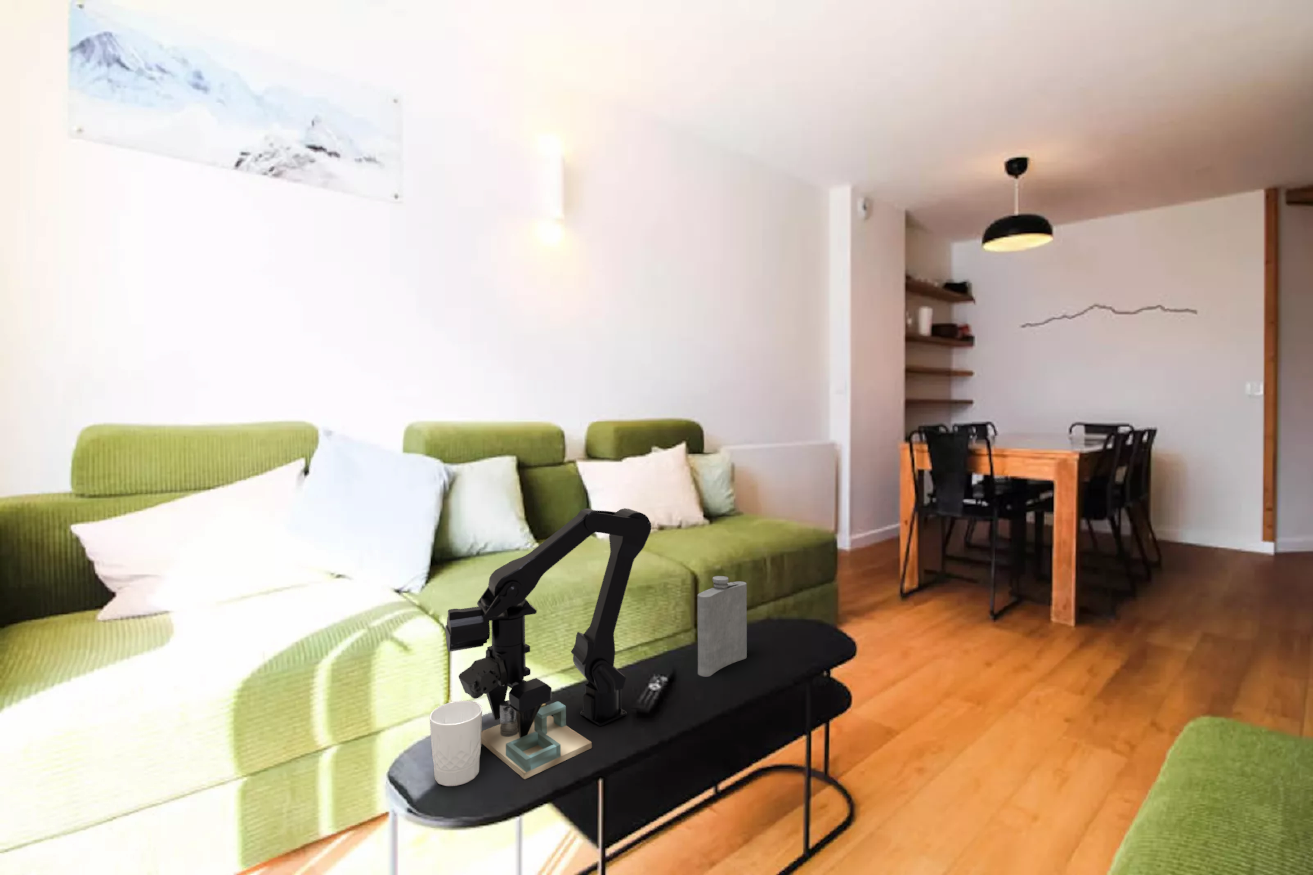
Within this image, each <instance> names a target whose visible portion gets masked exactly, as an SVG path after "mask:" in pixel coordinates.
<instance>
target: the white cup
mask: <svg viewBox="0 0 1313 875" xmlns="http://www.w3.org/2000/svg"><path fill="white" fill-rule="evenodd" d="M482 718H483V707H482V705H481V704H480V703H478V702H476V701H472V700H456V701H451V702H446V703H444V704H442V705H439V706H437V707H436V708H434V709H433V710H432V711H431V713H430V714H429V726H430V727H429V728H430V729H429V730H430V741H431V742H430V744H431V751H432V752H431V754H432V760H433V762H432V763H433V771H434V772H433V773H434V779H435V782H436V783H437V784H439V785H442V786H444V787H457V786H460V785H464V784H467V783H469V782H471V781H472V780H474V779H475V778H476V777H477V776H478V774H479V773H480V757H481V753H482V752H481V747H482V743H481V731H482V725H483V724H482V723H483V719H482Z"/></svg>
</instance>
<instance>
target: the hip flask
mask: <svg viewBox="0 0 1313 875" xmlns="http://www.w3.org/2000/svg"><path fill="white" fill-rule="evenodd" d="M712 582H713V587H711V588H709V589H706V590H703V591H702V592H699V593H698V594H697V675H698V676H700V677H704V678H705V677H706V678H707V677H711V676H712V675H714V674H715V673H716V672H718V671H719V670H720V671H721V669H723V668H725V667H727V666H729V665H732V664H734V663H736V662H739V661H742V660H745V659H747V656H748V655H747V653H748V652H747V650H748V649H747V647H748V646H747V642H748V640H747V636H748V633H747V632H748V631H747V630H748V627H747V622H748V621H747V620H748V619H747V618H748V617H747V616H748V615H747V610H748V609H747V606H748V605H747V601H748V600H747V599H748V598H747V594H748V593H747V592H748V591H747V589H748V588H747V582H745V581H739V580H738V581H730V582H729V577H728V576H726V575H725V576H724V575H715V576H713V577H712Z"/></svg>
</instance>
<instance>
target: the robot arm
mask: <svg viewBox="0 0 1313 875" xmlns="http://www.w3.org/2000/svg"><path fill="white" fill-rule="evenodd" d="M651 531H652V522H651V521H650V518H649V517H648V516H647V515H646V514H645V513H642V512H640V511H636V510H633V509H630V508H624V507H623V508H621V509H619V510H617V511H610V510H597V509H596V510H595V509H591V508H583V509H581V510H580V511H579V512H578V514H576V515H575V516H574V517H573V518H572V519H570V520H569V521H568V522H567V523H566V524H564V525H563V526H562V527H561V528H559V529H558V530H556V532H554V533H553V534H551V535H550V536H549V537H548V538H546V539H545V540H544V541H543V542H542V543H540V544H539V545H538V546H537V547H535V548H533V550H532V551H530V552H529V553H527V554H525V555H523V556H521V557H518V558H515V559H513V560H511V561H509V562H508V563H506V564H503V565H501V566H500V567H498V568H497V569H495V570H494V571H493V572H492V573H491V574H490V577H489V580H488V586H487V588H486V589H485V591H484V592H483V594H482V595H481V596H480V598H479V599H478V600H477V602H476V605H477V606H472V607H466V608H465V607H464V608H449V609H448V610H447V618H446V625H445V640H446V641H445V642H446V647H447V652H449V653H451V652H456V651H463V650H467V649H468V650H470V649H474V648H481V647H484V644H487V643H488V640H489V639H490V636H491V645H490V646H487V648H486V650H485V657H483V658H479V659H476V660H474V661H473V663H472V664H471V665H470V666H469V667H467V668H465V669H464V670H463V671H462V672H460V673H459V675H458V679H459V681H460V684H461V686H462V688H463V691H464V693H465V694H466V695H469V696H470V697H471V698H472V699H473V700H475V699H479V698H481V697H482V696H483V695H486V697H487V701H488V704H489V706H490V710H491V713H492V717H493V719H494V721H497V720H500V704H501V703H502V702H504V701H506V697H507V693H508V700H510V703H511V704H510V705H508V706H509V707H511V708H512V709H513V710H515V711H516V717H517V725H518V732H519V737H520V738H521V737H523V736H526V735H527V734H528V732H529V730H530V728H531V726H532V723H533V721H534V719H535V717H536V715H537V713H538V711H539V709H540V708H541V706H542V704H544V703H545V704H547V703H548V702H551V701H552V699H553V697H552V696H553V695H552V687H551V686H550V685H549V684H548V683H546V682H545V681H543V680H541V679H539V678H537V677H535V678H532V679H529V680H525V677H528V676H531V668H529V667H528V666H526V665H527V664H526V654H527V653H530V652H531V646H530V645H529V644H527V643H526V616H531V615H535V614H537V612H538V610H537V609H536V608H535V607H534V606H533V605H532V604H530V603H529V601H528V600H527V599H526V598H528V596H529V595H530V594H531V593H532V592H533V591H534V590H535V589H536V587H537V585H538V583H539V582H540V580H541V579H542V577H543V576H544V575H545V573H547V572H548V571H549V570H550V569H551V568H553V567H554V566H555V565H556V564H558V563H559V562H560V561H561V560H562V559H563V558H565V557H566V556H567V555H568V554H570V553H571V552H573V551H574V550H575V549H576V548H577V547H578V546H580V545H581V544H582V543H583V542H584V541H586V540H587V539H588V538H589V537H590V536H592V535H593V534H595V533H600V534H605V535H606V534H607V535H608V539H609V540H608V541H609V549H610V553H609V558H608V560H607V564H606V568H605V572H604V575H603V579H602V582H601V587H600V590H599V594H598V597H597V600H596V604H595V607H594V611H593V615H592V618H591V622H590V626H589V627H588V628H587V629H586V630H585V632H584V633H582V632H580V631H577V632H576V635H575V643H574V645H573V648H572V649H571V651H570V653H571V654H572V661H573V664H574V666H575V668H576V669H577V670H578V671H579V672H580V673H581V674H582V676H583V677H584V678H585V679H586V680H587V681H588V683H586V684H584V690H585V691H584V693H583V709H582V710H580V714H579V715H581V716H583V717H585V718H586V719H587V720H590V721H591V722H592V723H594V724H596V725H597V726H600V727H602V726H604V725H607V724H608V723H611V722H613V721H615V720H618V719H621V718H622V717H625V716H627V711H626V710H625V709H623V708H622V689H623V690H624V687H625V682H626V680H627V677H626V676H625V675H624V674H623V673H622V672H620V671H619V670H618V669H617V667H616V666H615V659H616V658H615V657H616V645H615V630H616V626H617V623H618V619H619V615H620V611H621V608H622V605H623V600H624V597H625V594H626V590H627V586H628V583H629V579H630V575H631V573H632V572H631V571H632V568H633V565H634V561H635V559H636V558H637V556H639V554H640V553H641V552H642V550H643V549H644V547H645V545H646V544H647V541H648V538H649V537H650V534H651ZM490 621H491V622H490ZM490 623H491V627H490ZM490 633H491V634H490ZM508 687H509V688H510V690H509V692H507V691H508Z"/></svg>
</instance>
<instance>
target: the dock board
mask: <svg viewBox="0 0 1313 875" xmlns="http://www.w3.org/2000/svg"><path fill="white" fill-rule="evenodd" d="M552 715H553V716H552ZM481 745H483V746H484V747H486V749H488V750H489V751H490V752H491V753H492V754H493V755H495V756H496V757H497V758H498V759H499V760H501V761H502V762H503V763H504V764H506V765H507V766H508V767H509V768H510V769H512V770H513V771H514V772H515V773H516V774H518V775H519V776H520V778H522V779H523V780H527V779H529V778H531V777H533V776H535V775H537V774H539V773H541V772H543V771H547V770H548V769H550V768H552V767H554V766H556V765H558V764H560V763H563V762H565V761H566V760H570V759H571V758H573V757H577V756H578V755H580V754H583V753H584V752H587V751H589V750H590V749H593V748H592V747H593V744H592V741H591V740H589V739H587V738H586V737H585V736H583V735H582V734H580V733H578V732H577V731H575V730H573V729H572V728H570V727H569V726H568V725H567V707H566V705H565V704H564V703H562V702H560V701H557V700H556V701H555V702H551V703H549V704H546V706H544V707H541V708H540V709H539V711H538V713H537V715H536V717H535V719H534V722H533V723H532V726H531V728H530V730H529V732H528V734H527V735H526V736H523V737H521V738H520V737H519V732H518V734H516V735H514V736H511V737H504V736H502V735H501V734H500V723H498V724H497V725H494V726H491V727H489V728H486V729H483V730H481Z"/></svg>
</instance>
